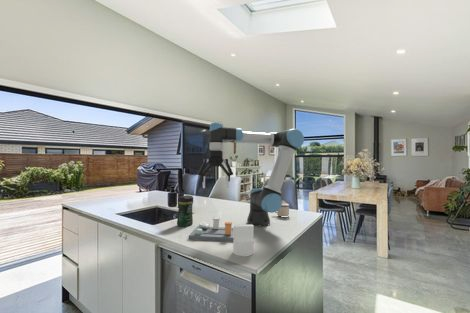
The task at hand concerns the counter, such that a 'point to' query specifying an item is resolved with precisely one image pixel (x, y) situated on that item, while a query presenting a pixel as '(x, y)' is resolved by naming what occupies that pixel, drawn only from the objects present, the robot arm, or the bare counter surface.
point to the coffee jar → (185, 211)
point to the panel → (211, 234)
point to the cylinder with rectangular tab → (243, 240)
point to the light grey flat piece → (204, 224)
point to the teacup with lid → (283, 209)
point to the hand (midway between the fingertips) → (215, 187)
